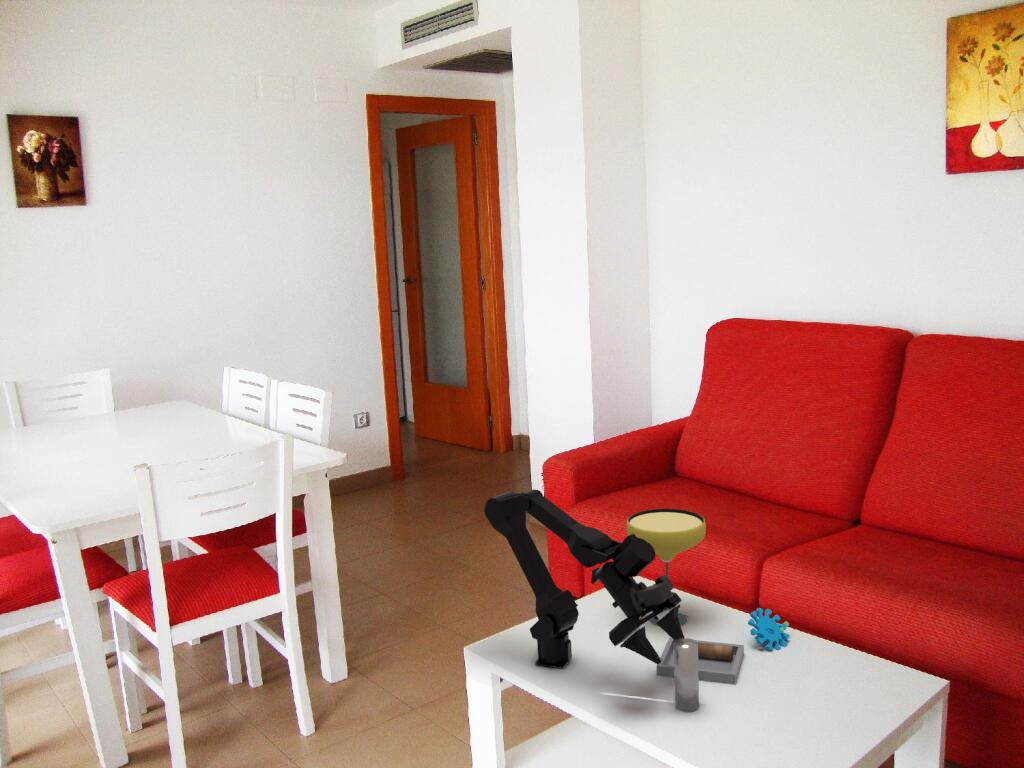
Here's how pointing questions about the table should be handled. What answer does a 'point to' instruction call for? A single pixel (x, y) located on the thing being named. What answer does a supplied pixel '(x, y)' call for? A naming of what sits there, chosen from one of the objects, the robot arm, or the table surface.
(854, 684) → the table surface
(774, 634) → the gear
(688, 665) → the sleeve
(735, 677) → the tray
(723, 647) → the rod
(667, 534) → the cocktail glass
